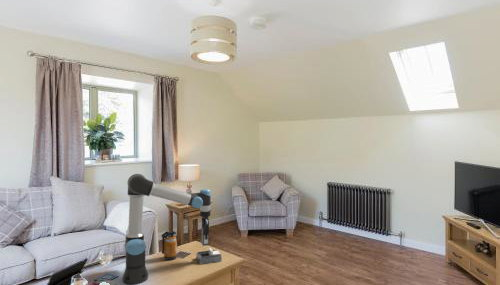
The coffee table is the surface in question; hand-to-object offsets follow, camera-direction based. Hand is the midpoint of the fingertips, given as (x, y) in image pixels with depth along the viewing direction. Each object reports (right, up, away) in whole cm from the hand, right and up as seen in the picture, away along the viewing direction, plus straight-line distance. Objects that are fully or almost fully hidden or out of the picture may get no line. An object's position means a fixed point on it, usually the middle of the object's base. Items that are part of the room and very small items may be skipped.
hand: (205, 242), depth 226 cm
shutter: (+7, -9, +3) cm, 12 cm away
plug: (0, -2, 0) cm, 2 cm away
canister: (-27, -13, +3) cm, 30 cm away
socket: (+2, -13, +1) cm, 13 cm away
